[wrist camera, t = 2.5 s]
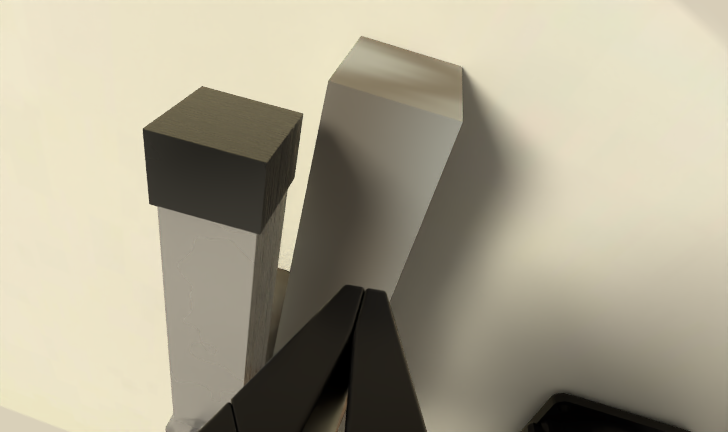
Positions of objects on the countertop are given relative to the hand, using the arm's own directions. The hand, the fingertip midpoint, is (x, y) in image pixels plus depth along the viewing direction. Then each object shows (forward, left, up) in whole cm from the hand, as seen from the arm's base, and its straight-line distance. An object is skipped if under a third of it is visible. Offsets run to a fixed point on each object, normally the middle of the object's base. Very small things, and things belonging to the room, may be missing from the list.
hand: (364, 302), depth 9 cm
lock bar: (+3, +3, -2) cm, 5 cm away
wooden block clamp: (+2, +8, -7) cm, 11 cm away
